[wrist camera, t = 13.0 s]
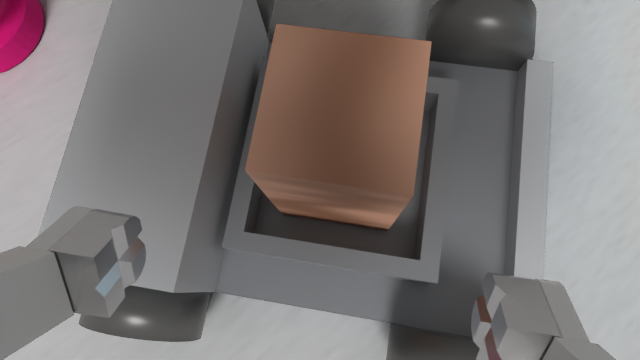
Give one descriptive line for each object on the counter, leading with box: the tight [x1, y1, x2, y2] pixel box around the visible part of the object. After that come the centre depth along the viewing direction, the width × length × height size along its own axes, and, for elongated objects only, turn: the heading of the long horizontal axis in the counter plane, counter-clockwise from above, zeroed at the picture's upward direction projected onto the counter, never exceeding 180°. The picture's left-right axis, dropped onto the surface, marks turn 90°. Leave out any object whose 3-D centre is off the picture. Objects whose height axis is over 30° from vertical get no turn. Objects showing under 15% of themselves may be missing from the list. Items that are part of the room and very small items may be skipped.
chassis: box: [38, 0, 554, 360], centre depth 19 cm, size 20×17×6 cm
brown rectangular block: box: [245, 24, 432, 231], centre depth 17 cm, size 5×5×8 cm
